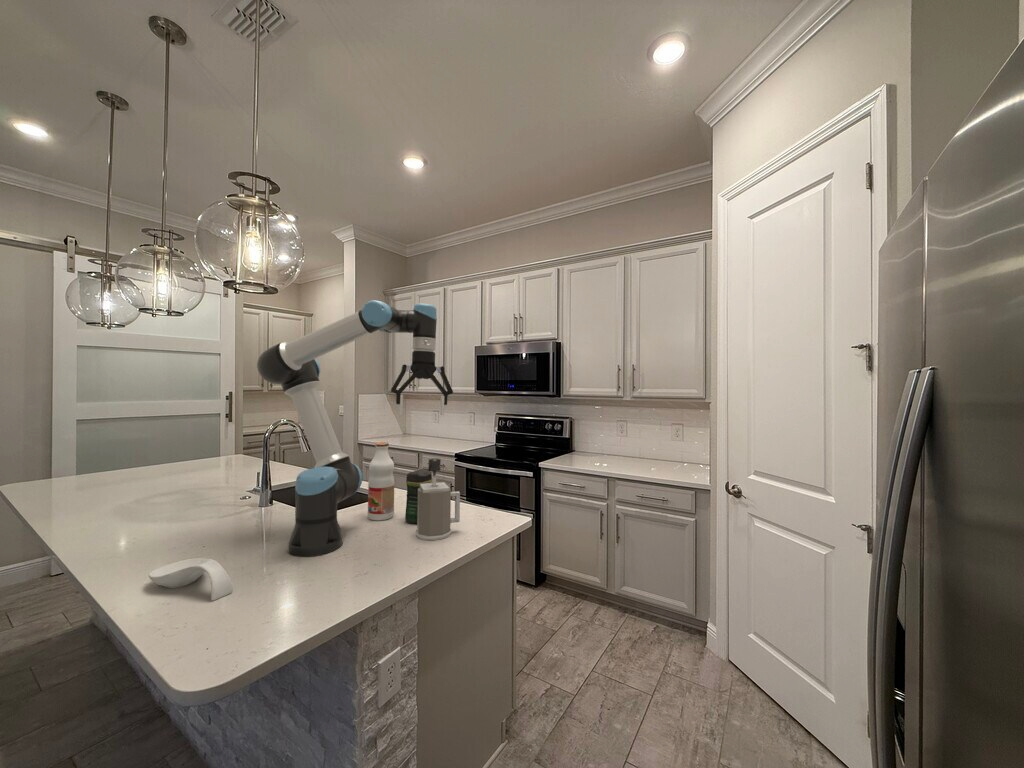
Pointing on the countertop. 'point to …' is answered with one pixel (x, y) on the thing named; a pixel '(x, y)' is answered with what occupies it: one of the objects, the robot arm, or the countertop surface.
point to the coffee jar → (415, 492)
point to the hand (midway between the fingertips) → (421, 414)
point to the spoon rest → (194, 575)
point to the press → (436, 511)
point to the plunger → (434, 468)
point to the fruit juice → (381, 484)
